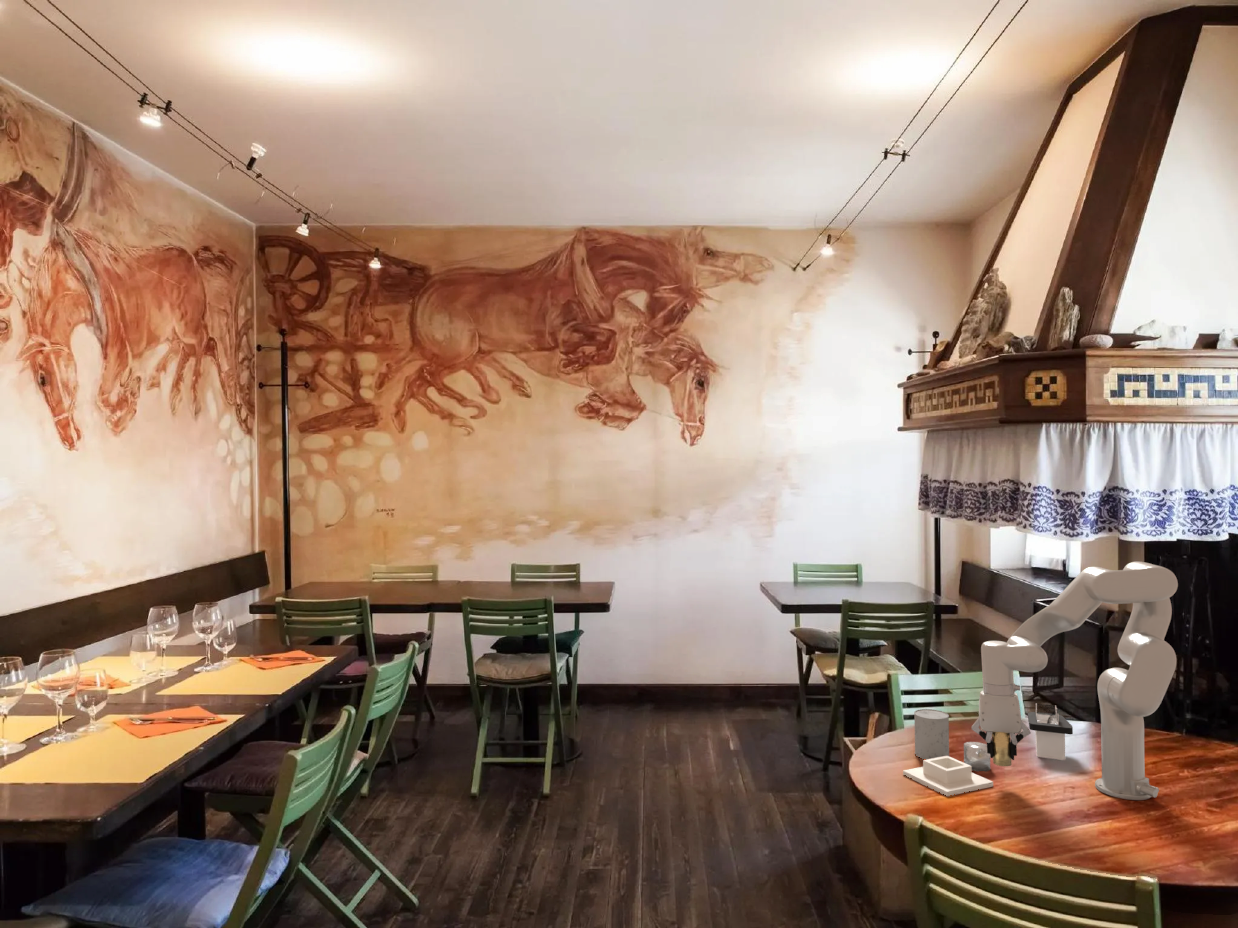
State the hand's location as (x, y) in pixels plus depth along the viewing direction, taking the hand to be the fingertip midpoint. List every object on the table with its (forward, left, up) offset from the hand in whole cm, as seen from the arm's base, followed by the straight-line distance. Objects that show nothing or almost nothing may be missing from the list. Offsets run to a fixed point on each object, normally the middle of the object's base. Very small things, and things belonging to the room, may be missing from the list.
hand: (1002, 756), depth 214 cm
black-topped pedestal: (+12, -32, -8) cm, 35 cm away
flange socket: (+8, +11, -8) cm, 16 cm away
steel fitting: (+12, -4, -8) cm, 15 cm away
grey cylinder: (+24, +1, -8) cm, 26 cm away
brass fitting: (0, 0, -2) cm, 2 cm away
